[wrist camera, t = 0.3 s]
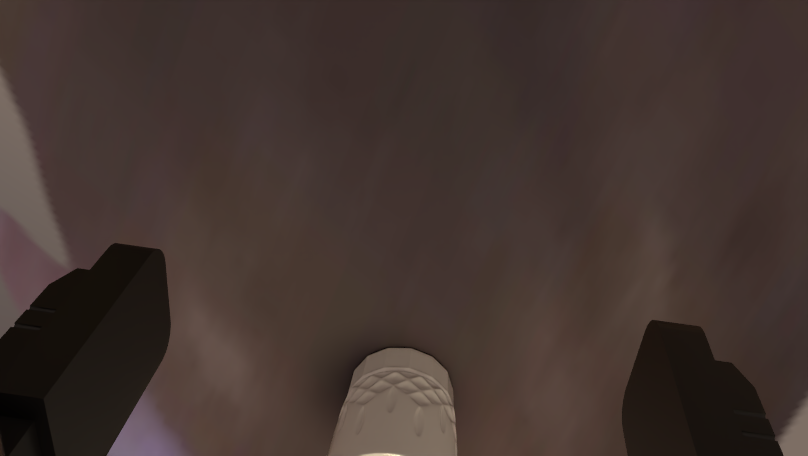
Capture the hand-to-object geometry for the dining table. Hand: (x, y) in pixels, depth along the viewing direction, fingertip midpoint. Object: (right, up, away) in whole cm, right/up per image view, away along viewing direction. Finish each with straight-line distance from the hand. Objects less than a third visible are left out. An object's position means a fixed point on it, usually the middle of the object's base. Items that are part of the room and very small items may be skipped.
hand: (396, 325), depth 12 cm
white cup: (0, -9, +37) cm, 38 cm away
